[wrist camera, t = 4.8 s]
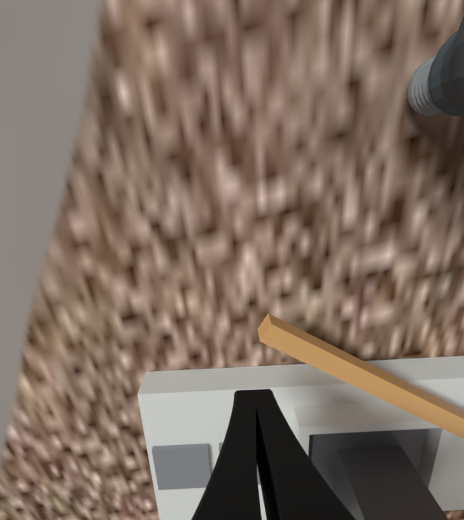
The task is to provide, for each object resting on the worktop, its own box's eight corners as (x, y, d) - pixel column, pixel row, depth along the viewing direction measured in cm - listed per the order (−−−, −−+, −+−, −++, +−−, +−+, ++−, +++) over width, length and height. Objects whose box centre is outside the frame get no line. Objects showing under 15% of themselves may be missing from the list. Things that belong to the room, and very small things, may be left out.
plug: (417, 412, 18) (510, 527, 12) (402, 489, 20) (474, 619, 14) (308, 417, 18) (348, 536, 12) (304, 494, 20) (336, 627, 14)
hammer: (505, 413, 17) (554, 455, 15) (482, 435, 18) (526, 479, 15) (268, 292, 15) (278, 317, 12) (249, 321, 15) (254, 352, 12)
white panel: (498, 354, 19) (558, 393, 15) (462, 480, 22) (504, 533, 19) (146, 371, 19) (129, 415, 15) (166, 495, 22) (156, 552, 19)
